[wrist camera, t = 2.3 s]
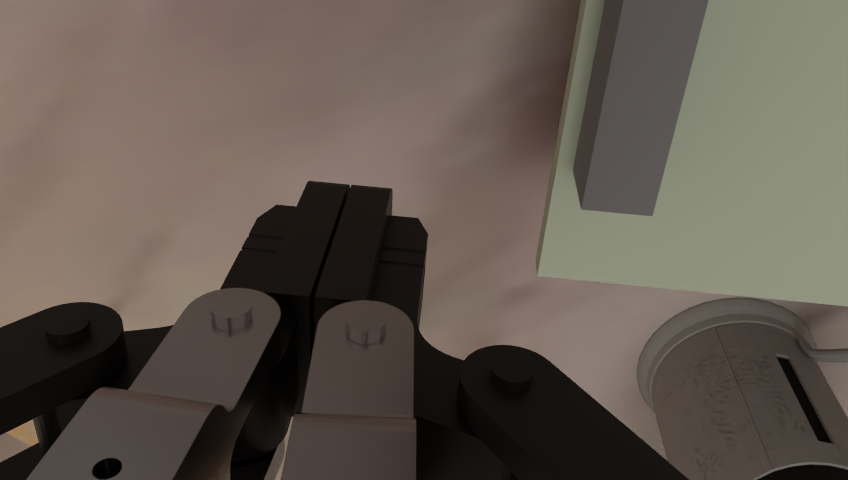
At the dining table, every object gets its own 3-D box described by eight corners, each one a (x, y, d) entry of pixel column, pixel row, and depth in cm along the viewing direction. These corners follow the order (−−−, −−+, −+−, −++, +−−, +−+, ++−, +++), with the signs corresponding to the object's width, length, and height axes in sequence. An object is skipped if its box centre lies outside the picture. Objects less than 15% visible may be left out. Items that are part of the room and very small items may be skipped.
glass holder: (601, 376, 40) (655, 661, 27) (829, 185, 33) (1041, 439, 21) (719, 455, 42) (821, 752, 29) (954, 289, 36) (1215, 577, 23)
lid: (616, -206, 19) (640, -202, 16) (1140, -162, 19) (1262, -151, 16) (535, 259, 27) (541, 321, 24) (914, 296, 26) (969, 363, 23)
